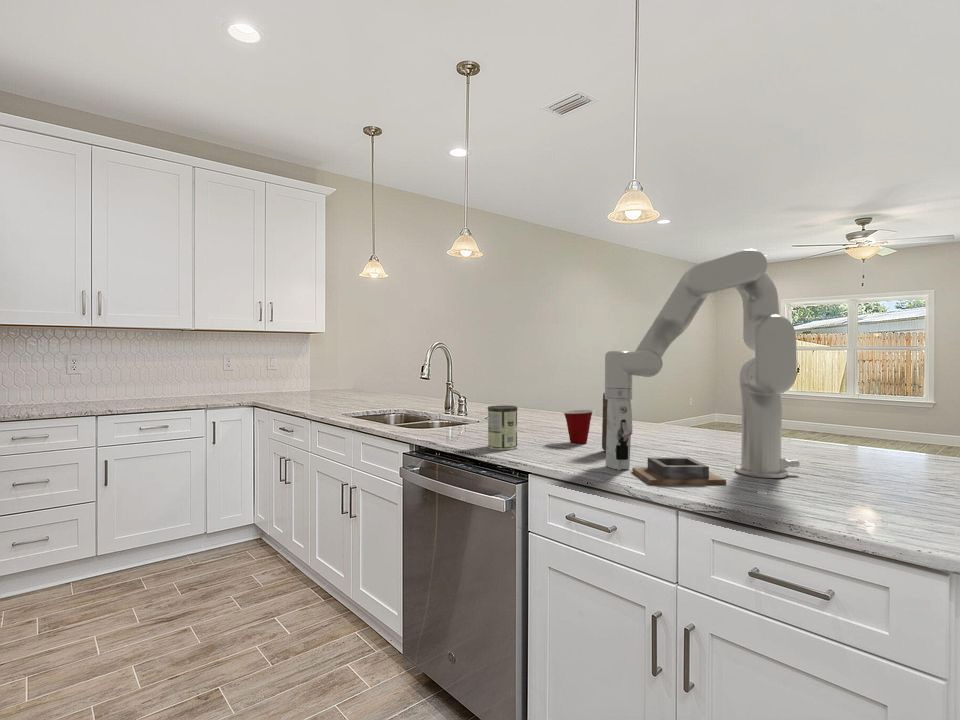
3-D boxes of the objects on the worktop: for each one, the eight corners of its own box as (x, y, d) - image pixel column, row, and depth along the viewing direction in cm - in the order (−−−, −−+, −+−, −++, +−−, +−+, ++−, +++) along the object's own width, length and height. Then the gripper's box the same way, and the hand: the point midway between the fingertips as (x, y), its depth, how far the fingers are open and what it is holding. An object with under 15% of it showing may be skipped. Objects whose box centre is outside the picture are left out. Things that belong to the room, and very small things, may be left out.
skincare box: (604, 466, 148) (604, 424, 148) (617, 465, 150) (617, 423, 150) (618, 470, 143) (618, 427, 143) (631, 469, 144) (631, 426, 144)
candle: (625, 455, 165) (626, 392, 165) (602, 454, 166) (602, 392, 166) (624, 450, 173) (624, 391, 172) (601, 449, 174) (601, 390, 174)
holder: (700, 471, 142) (701, 456, 142) (726, 484, 128) (726, 467, 128) (632, 471, 141) (632, 456, 141) (650, 484, 127) (650, 467, 127)
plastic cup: (570, 439, 195) (570, 407, 195) (597, 442, 189) (598, 409, 188) (557, 443, 186) (557, 410, 186) (585, 446, 180) (585, 412, 180)
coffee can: (497, 444, 185) (497, 404, 185) (522, 446, 179) (522, 406, 179) (481, 448, 176) (482, 407, 176) (508, 451, 171) (508, 409, 171)
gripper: (641, 396, 138) (641, 463, 138) (622, 391, 155) (622, 450, 155) (613, 396, 137) (613, 463, 138) (597, 391, 155) (597, 450, 155)
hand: (618, 456), depth 146 cm, fingers closed on skincare box, 7 cm apart
